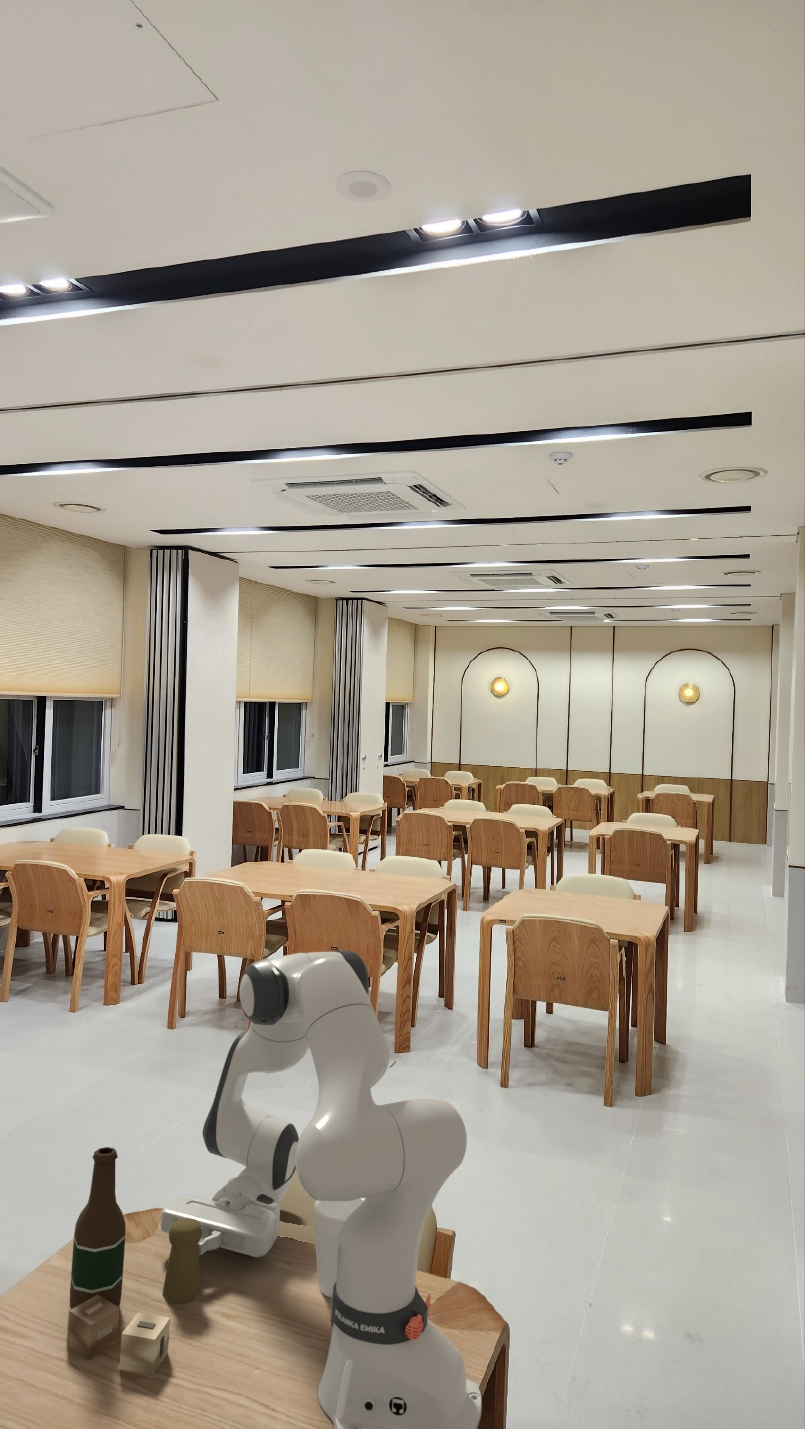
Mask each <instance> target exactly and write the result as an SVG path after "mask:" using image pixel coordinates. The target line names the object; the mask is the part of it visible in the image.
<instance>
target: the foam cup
mask: <svg viewBox="0 0 805 1429" xmlns="http://www.w3.org/2000/svg"><path fill="white" fill-rule="evenodd" d="M364 1200H365V1197H364V1198H360V1199H356V1200H352V1201H317V1200H315V1202H314V1205H313V1213H312V1214H313V1217H312V1222H313V1224H314V1237H315V1238H314V1240H315V1252H316V1254H315V1255H316V1267H317V1268H316V1271H317V1284H318V1289H319V1291H320V1292H321V1294H323V1295H325V1296H326V1297H328V1298H332V1295H333V1287H334V1284H335V1283H336V1282H337V1265H338V1247H339V1236H340V1232H341V1229H342V1227H343V1224H344V1223H345V1221H346V1219H347V1218H348V1217H349V1216H350V1214H351V1213H352V1212H353V1211H354V1210H355V1209H357V1208H358V1207H359V1206H360V1205H361V1203H362V1202H363V1201H364Z"/></svg>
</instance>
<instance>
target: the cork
mask: <svg viewBox="0 0 805 1429" xmlns="http://www.w3.org/2000/svg"><path fill="white" fill-rule="evenodd" d="M201 1235H202V1228H201V1225H200V1223H199V1222H198V1221H197V1220H195V1219H193V1218H182V1219H179V1220H177V1221H175V1222H174V1223H173V1224H172V1226H171V1228H170V1231H169V1233H168V1239H169V1243H170V1244H171V1246H170V1252H169V1256H168V1262H167V1267H166V1274H165V1279H164V1283H163V1287H162V1288H163V1289H162V1296H163V1298H164V1300H166V1301H168V1302H170V1303H173V1304H183V1303H184V1304H185V1303H189V1302H191V1301H193V1300H196V1299H197V1298H198V1297H199V1296H200V1295H201V1292H202V1289H201V1288H202V1285H201V1274H200V1270H201V1269H200V1258H199V1256H200V1254H198V1242H199V1241H200V1239H201Z"/></svg>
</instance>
